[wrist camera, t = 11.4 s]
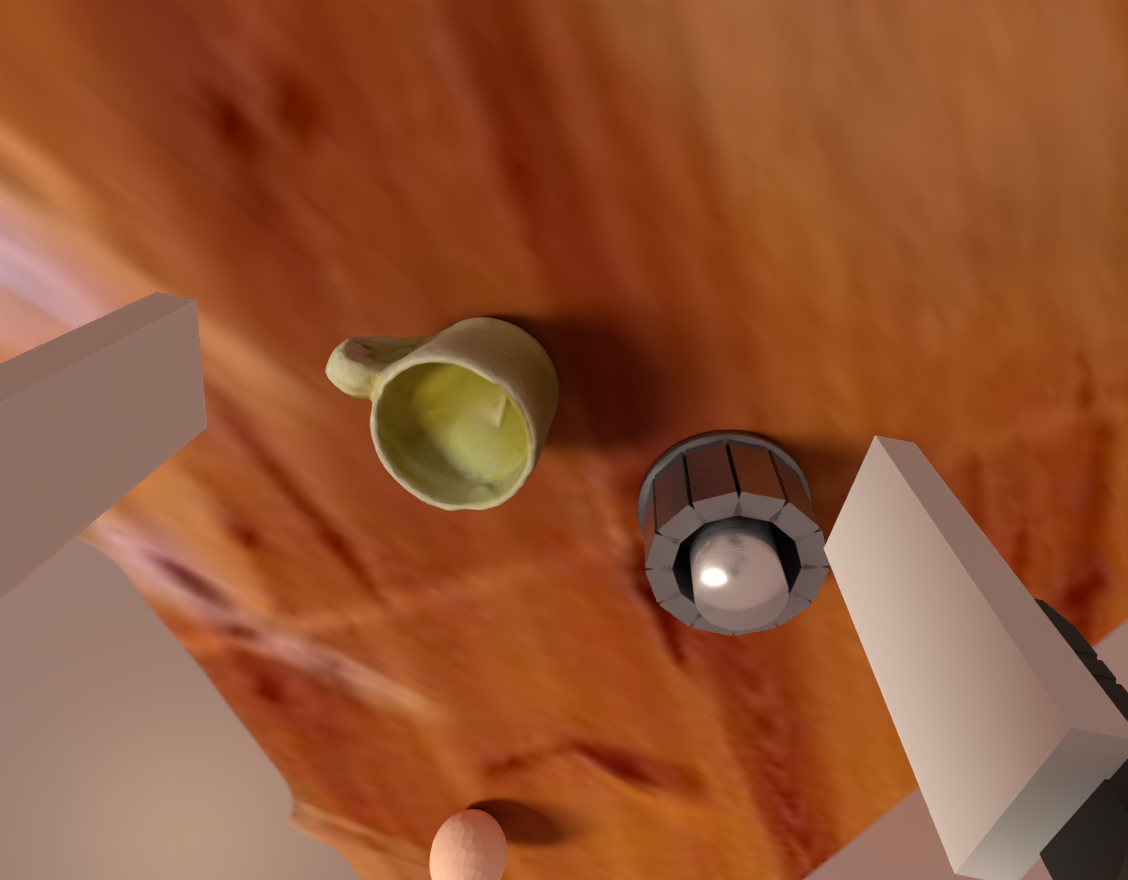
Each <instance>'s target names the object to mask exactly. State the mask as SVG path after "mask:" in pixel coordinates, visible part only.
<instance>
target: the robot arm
mask: <svg viewBox="0 0 1128 880" xmlns="http://www.w3.org/2000/svg"><path fill="white" fill-rule="evenodd" d="M206 427H207V420H206V409H205V397H204V385H203V374H202V362H201V351H200V339H199V328H198V316H197V304H196V300H193V299H188V298H183V297H178V296H173V295H168V294H163V293H158V292H155V293H153V294H151V295H149V296H147V297H145V298H142V299H140V300H138V301H136V302H134V303H131V304H129V305H127V306H125V307H123V308H121V309H118V310H116V311H114V312H112V313H110V314H108V315H105V316H103V317H101V318H99V319H97V320H95V321H92V322H90V323H88V324H86V325H84V326H82V327H79V328H77V329H75V330H73V331H71V332H68V333H66V334H64V335H62V336H60V337H58V338H55V339H53V340H51V341H49V342H47V343H45V344H42V345H40V346H38V347H36V348H34V349H32V350H29V351H27V352H25V353H23V354H21V355H19V356H16V357H14V358H12V359H10V360H8V361H6V362H3V363H1V364H0V599H1V598H2V597H4V596H5V595H6V594H7V593H8V592H9V591H11V590H12V589H13V588H14V587H15V586H17V585H18V584H19V583H20V582H22V581H23V580H24V579H25V578H26V577H27V576H29V575H30V574H31V573H32V572H33V571H35V570H36V569H37V568H38V567H40V566H41V565H42V564H43V563H44V562H45V561H47V560H48V559H49V558H50V557H52V556H53V555H54V554H55V553H56V552H58V551H59V550H60V549H61V548H62V547H64V546H65V545H66V544H67V543H68V542H70V541H71V540H72V539H73V538H74V537H76V536H77V535H78V534H79V533H80V532H82V531H83V530H84V529H85V528H86V527H88V526H89V525H90V524H91V523H92V522H94V521H95V520H96V519H97V518H98V517H100V516H101V515H102V514H103V513H104V512H106V511H107V510H108V509H109V508H110V507H112V506H113V505H114V504H115V503H116V502H118V501H119V500H120V499H121V498H122V497H124V496H125V495H126V494H127V493H128V492H130V491H131V490H132V489H133V488H134V487H136V486H137V485H138V484H139V483H140V482H142V481H143V480H144V479H145V478H146V477H148V476H149V475H150V474H151V473H152V472H154V471H155V470H156V469H157V468H158V467H160V466H161V465H162V464H163V463H164V462H166V461H167V460H168V459H169V458H170V457H172V456H173V455H174V454H175V453H176V452H178V451H179V450H180V449H181V448H182V447H184V446H185V445H186V444H187V443H188V442H190V441H191V440H192V439H193V438H194V437H196V436H197V435H198V434H199V433H200V432H202V431H203V430H204V429H205V428H206ZM824 551H825V553H826V556H827V558H828V561H829V563H830V566H831V568H832V571H833V573H834V576H835V578H836V580H837V583H838V585H839V588H840V590H841V593H842V595H843V598H844V600H845V603H846V605H847V608H848V610H849V613H850V615H851V618H852V620H853V623H854V625H855V628H856V630H857V633H858V635H859V638H860V640H861V643H862V645H863V647H864V650H865V652H866V655H867V657H868V660H869V662H870V665H871V667H872V670H873V672H874V675H875V677H876V680H877V682H878V685H879V687H880V690H881V692H882V695H883V697H884V700H885V702H886V705H887V707H888V710H889V712H890V714H891V717H892V719H893V722H894V724H895V727H896V729H897V732H898V734H899V737H900V739H901V742H902V744H903V747H904V749H905V752H906V754H907V757H908V759H909V762H910V764H911V767H912V769H913V772H914V774H915V777H916V779H917V781H918V784H919V786H920V789H921V791H922V794H923V796H924V799H925V801H926V804H927V806H928V809H929V811H930V814H931V816H932V819H933V821H934V824H935V826H936V828H937V831H938V833H939V836H940V838H941V841H942V843H943V846H944V848H945V851H946V853H947V856H948V858H949V861H950V863H951V866H952V868H953V871H954V873H955V874H959V875H964V876H969V877H973V878H979V879H984V880H1020V879H1021V878H1022V877H1023V876H1024V875H1025V873H1026V872H1027V871H1028V870H1029V869H1030V868H1031V867H1032V866H1033V864H1034V863H1035V862H1036V861H1037V860H1038V859H1039V858H1040V857H1041V858H1042V860H1043V862H1044V864H1045V866H1046V867H1047V870H1048V871H1049V873H1050V875H1051V877H1052V879H1053V880H1128V692H1127V691H1126V690H1125V689H1124V688H1123V686H1122V685H1120V684H1116V677H1115V676H1114V675H1113V674H1112V673H1111V671H1110V670H1109V669H1108V668H1107V666H1106V665H1105V664H1104V662H1103V661H1101V660H1097V654H1096V652H1095V651H1094V650H1093V649H1092V647H1091V646H1090V645H1089V644H1088V642H1087V641H1086V640H1085V639H1084V637H1083V636H1082V635H1081V634H1080V632H1079V631H1078V630H1077V629H1076V627H1074V626H1073V625H1072V624H1071V623H1070V622H1068V621H1067V620H1066V619H1065V618H1064V617H1062V616H1061V615H1060V614H1059V613H1057V612H1056V611H1055V610H1054V609H1053V608H1051V607H1050V606H1049V605H1048V604H1046V603H1045V602H1044V601H1043V600H1038V599H1033V597H1032V596H1031V595H1030V593H1029V592H1028V591H1027V589H1026V588H1025V587H1024V586H1023V584H1022V583H1021V582H1020V580H1019V579H1018V578H1017V576H1016V575H1015V574H1014V572H1013V571H1012V570H1011V569H1010V567H1009V566H1008V565H1007V563H1006V562H1005V561H1004V559H1003V558H1002V557H1001V555H1000V554H999V553H998V552H997V550H996V549H995V548H994V546H993V545H992V544H991V542H990V541H989V540H988V538H987V537H986V536H985V535H984V533H983V532H982V531H981V529H980V528H979V527H978V525H977V524H976V523H975V521H974V520H973V519H972V517H971V516H970V515H969V514H968V512H967V511H966V510H965V508H964V507H963V506H962V504H961V503H960V502H959V500H958V499H957V498H956V497H955V495H954V494H953V493H952V491H951V490H950V489H949V487H948V486H947V485H946V483H945V482H944V481H943V480H942V478H941V477H940V476H939V474H938V473H937V472H936V470H935V469H934V468H933V466H932V465H931V464H930V463H929V461H928V460H927V459H926V457H925V456H924V455H923V453H922V452H921V451H920V449H919V448H918V447H917V445H916V444H915V443H913V442H908V441H902V440H897V439H892V438H887V437H882V436H877V435H875V437H874V439H873V441H872V443H871V445H870V448H869V450H868V452H867V454H866V456H865V459H864V461H863V463H862V465H861V468H860V470H859V472H858V474H857V476H856V479H855V481H854V483H853V485H852V487H851V490H850V492H849V494H848V496H847V498H846V501H845V503H844V505H843V507H842V510H841V512H840V514H839V516H838V518H837V521H836V523H835V525H834V527H833V529H832V532H831V534H830V536H829V538H828V540H827V543H826V545H825V547H824Z"/></svg>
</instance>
